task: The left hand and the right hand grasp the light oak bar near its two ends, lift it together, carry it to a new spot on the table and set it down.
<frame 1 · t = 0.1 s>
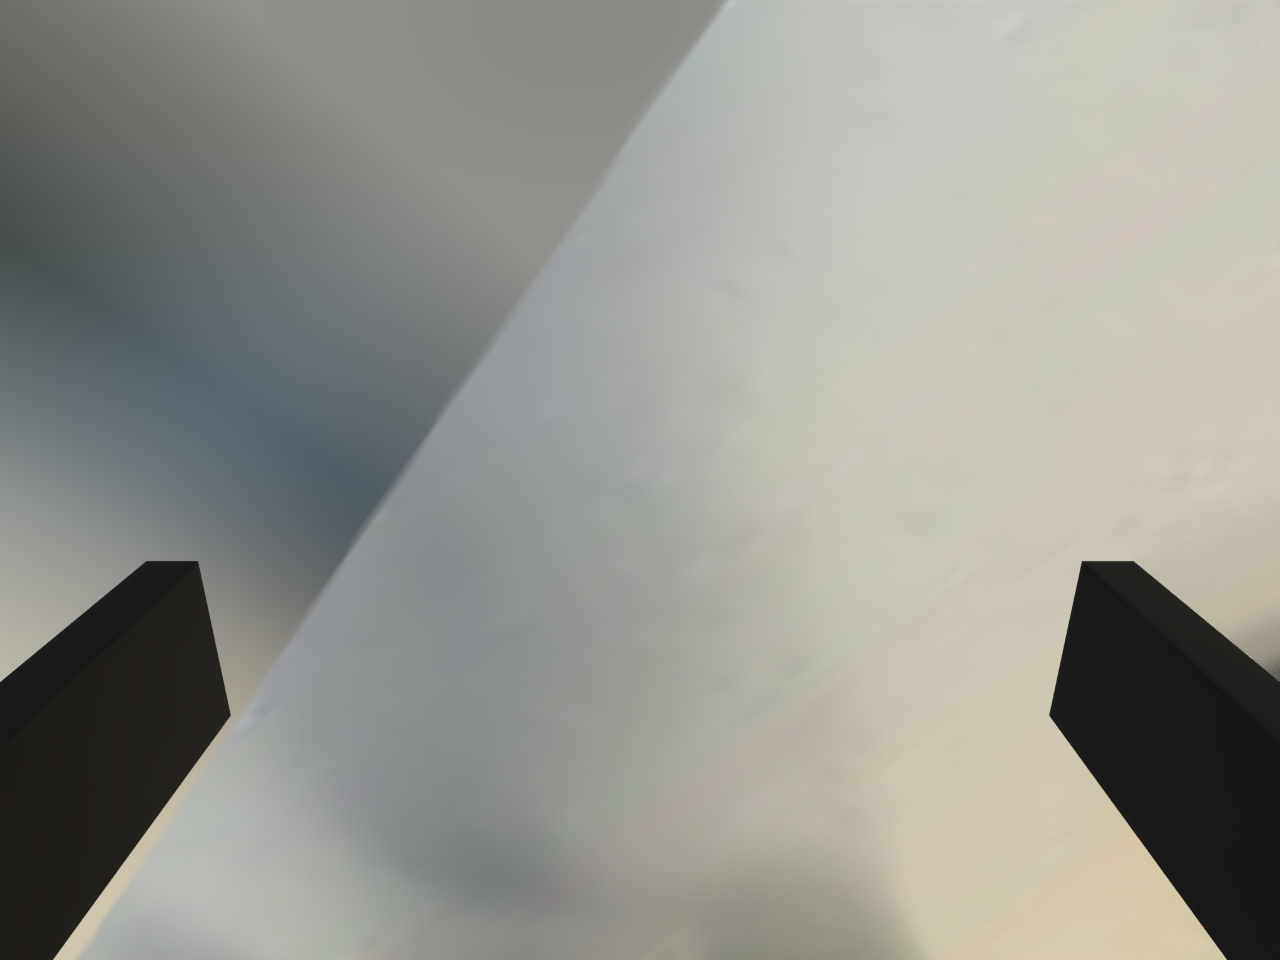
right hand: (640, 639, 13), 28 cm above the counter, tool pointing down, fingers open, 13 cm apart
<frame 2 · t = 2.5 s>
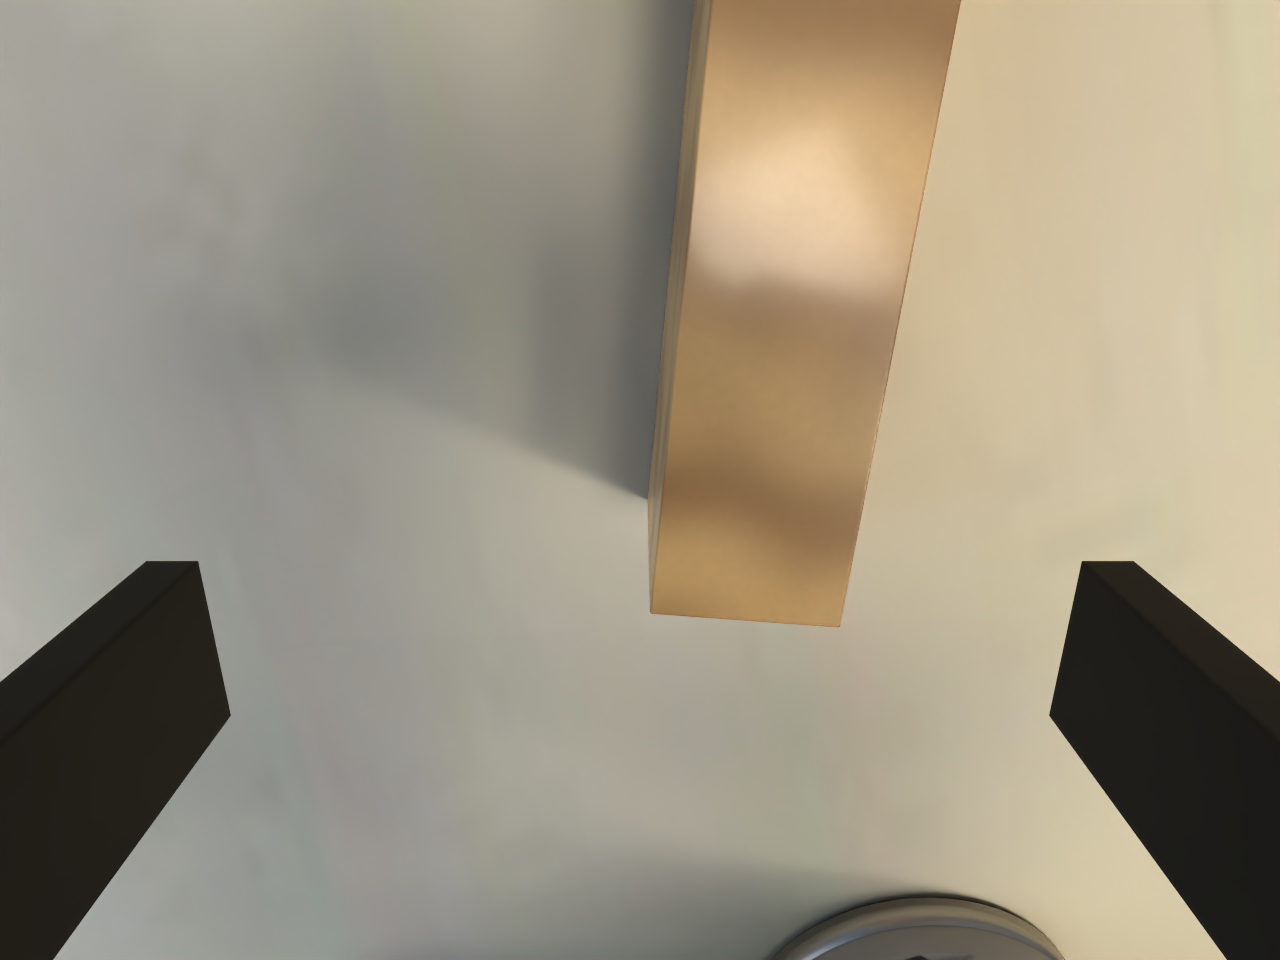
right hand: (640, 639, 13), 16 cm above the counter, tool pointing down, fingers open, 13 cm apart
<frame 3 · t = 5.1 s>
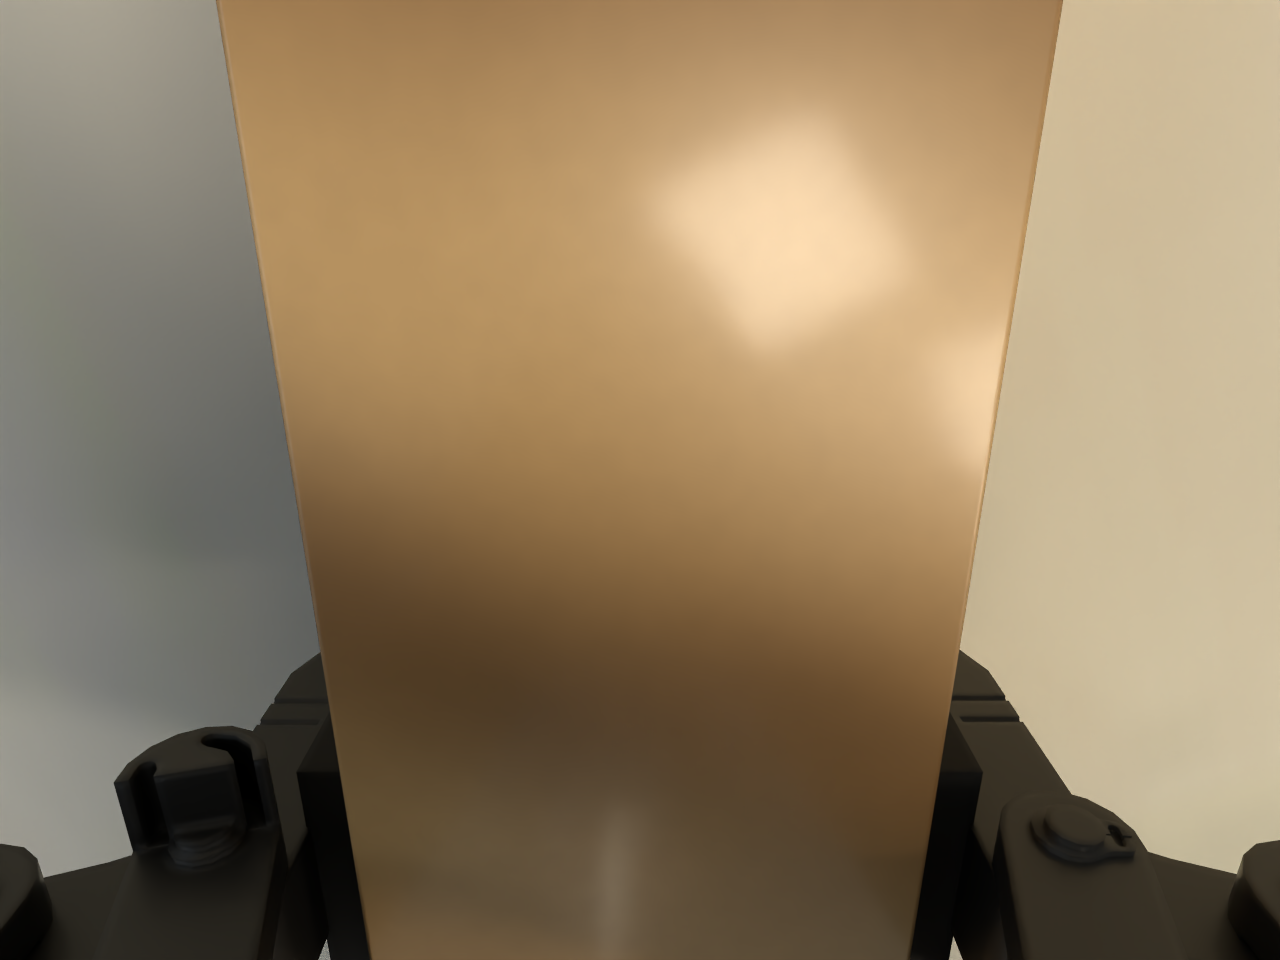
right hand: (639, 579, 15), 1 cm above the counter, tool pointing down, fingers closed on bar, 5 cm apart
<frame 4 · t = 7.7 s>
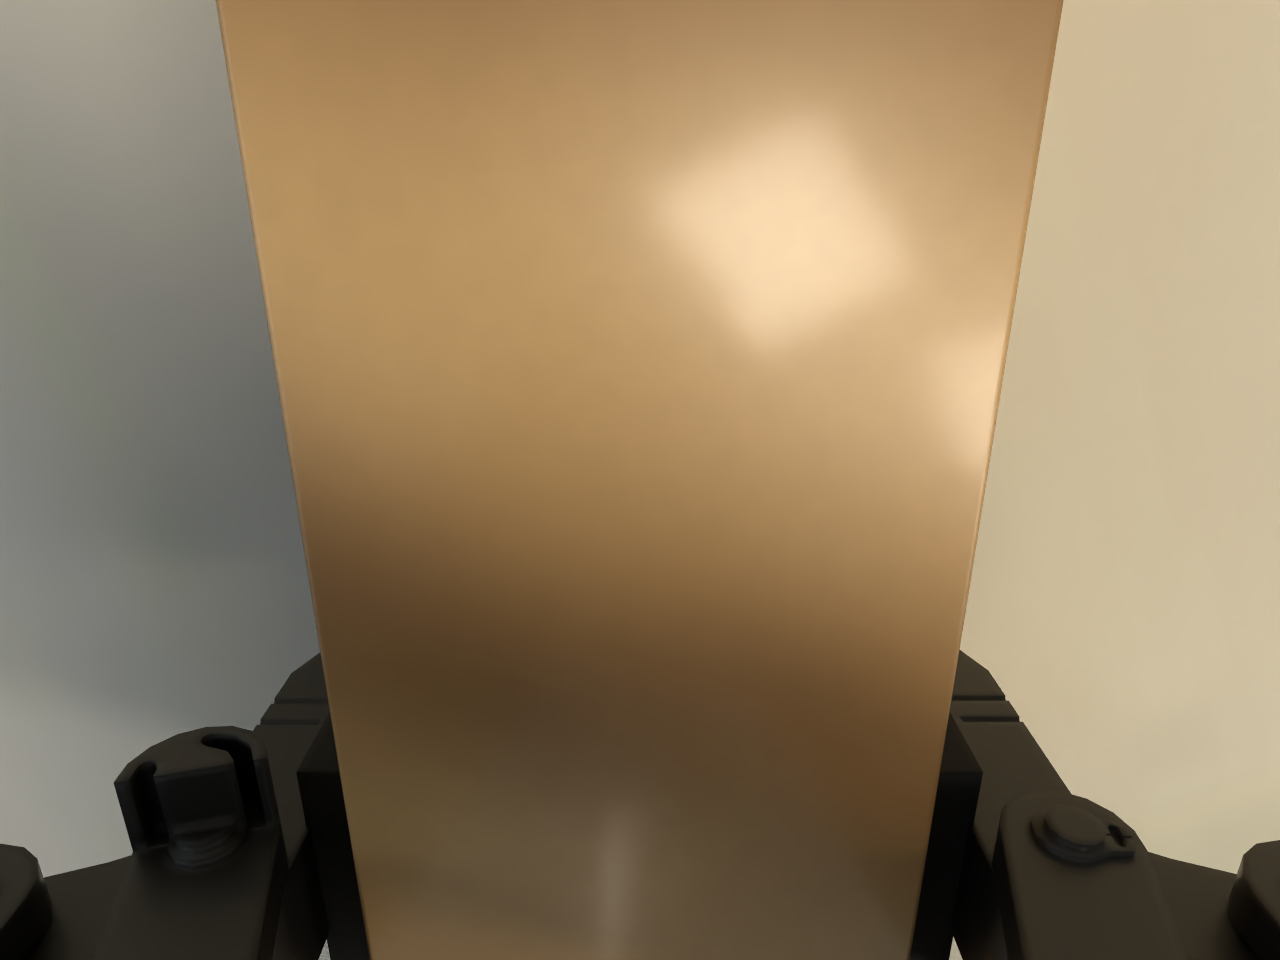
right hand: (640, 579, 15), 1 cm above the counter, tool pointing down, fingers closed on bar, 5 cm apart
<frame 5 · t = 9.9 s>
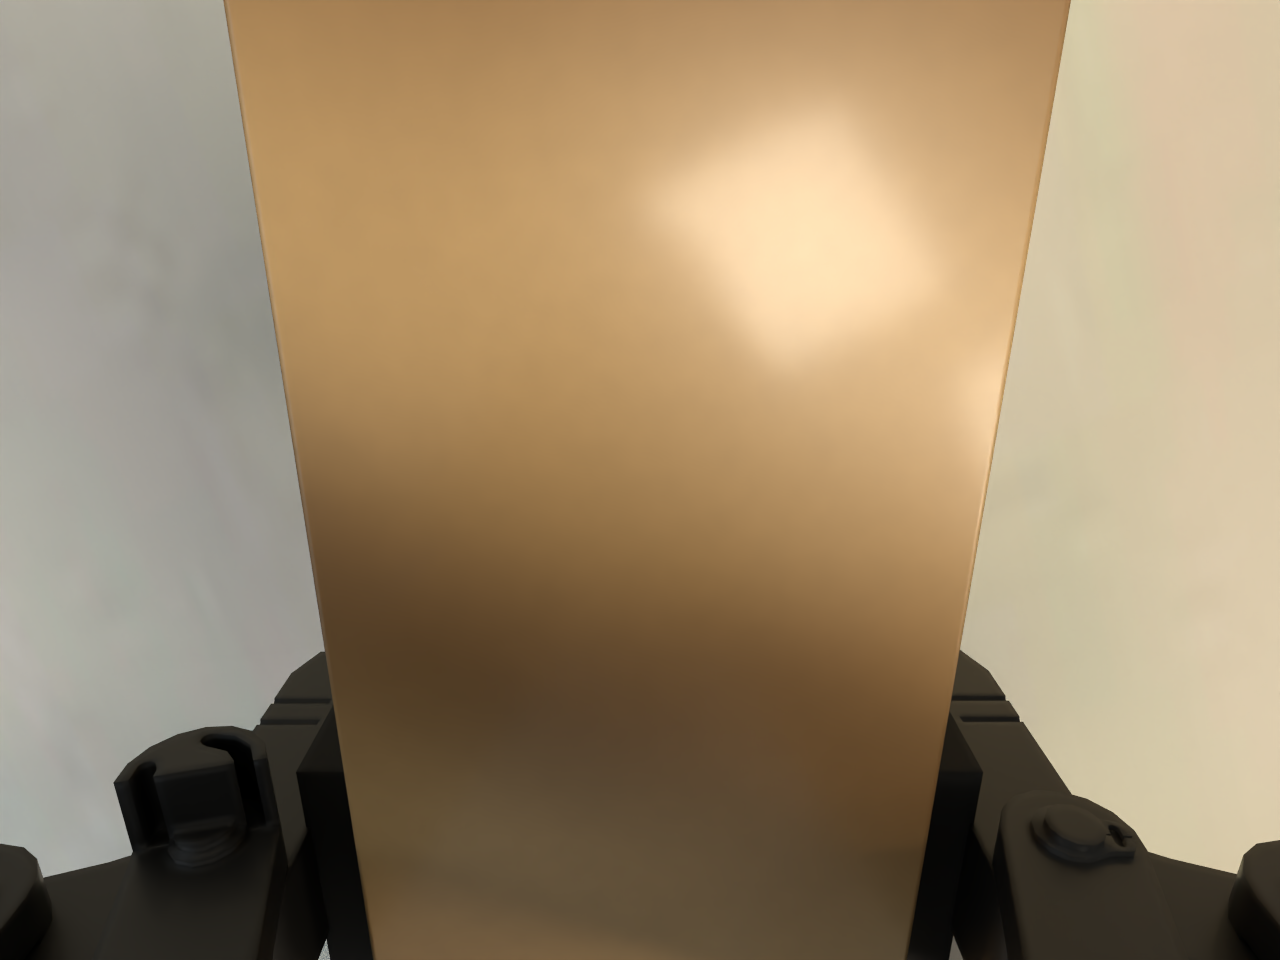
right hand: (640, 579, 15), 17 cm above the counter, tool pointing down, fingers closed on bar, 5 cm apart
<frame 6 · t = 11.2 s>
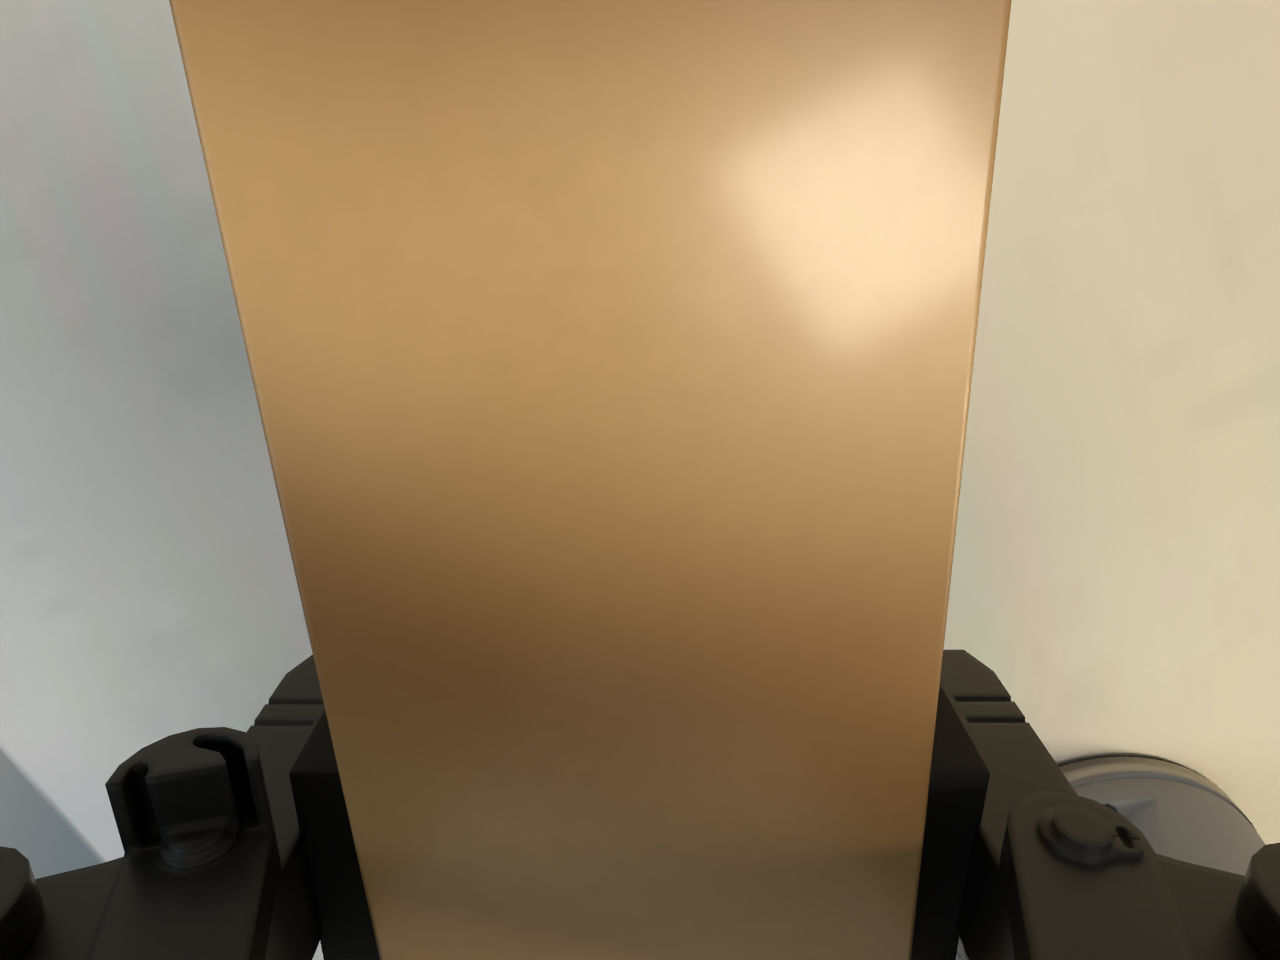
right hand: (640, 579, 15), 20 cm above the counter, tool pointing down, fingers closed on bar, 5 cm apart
when the right hand's fingers open (2 cm above the counter, at t = 14.7 s): bar drops 2 cm, on the counter.
when the left hand's fingers open (4 cm above the counter, at t = 14.9 s): bar stays where it is, on the counter.
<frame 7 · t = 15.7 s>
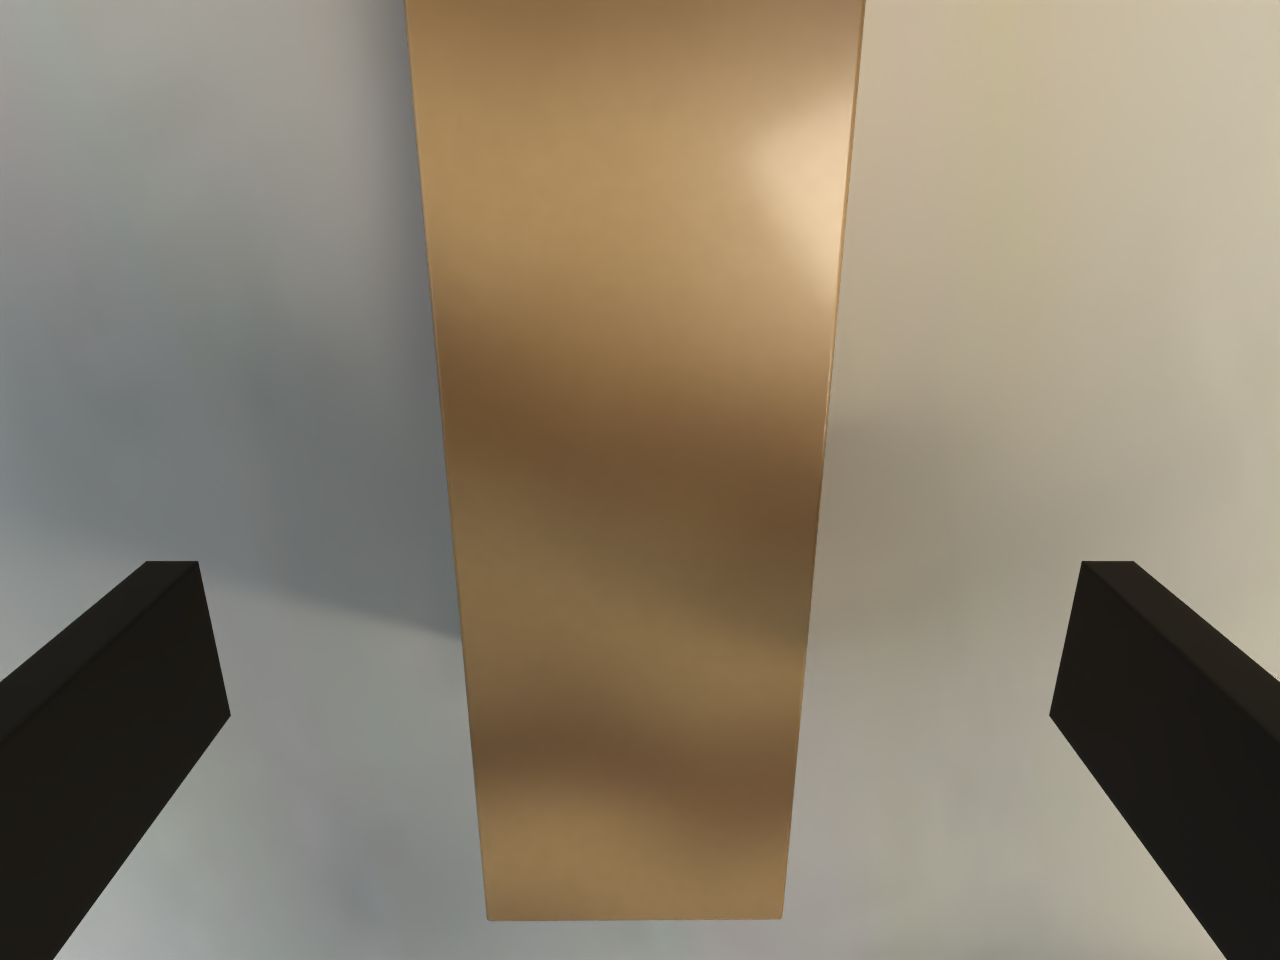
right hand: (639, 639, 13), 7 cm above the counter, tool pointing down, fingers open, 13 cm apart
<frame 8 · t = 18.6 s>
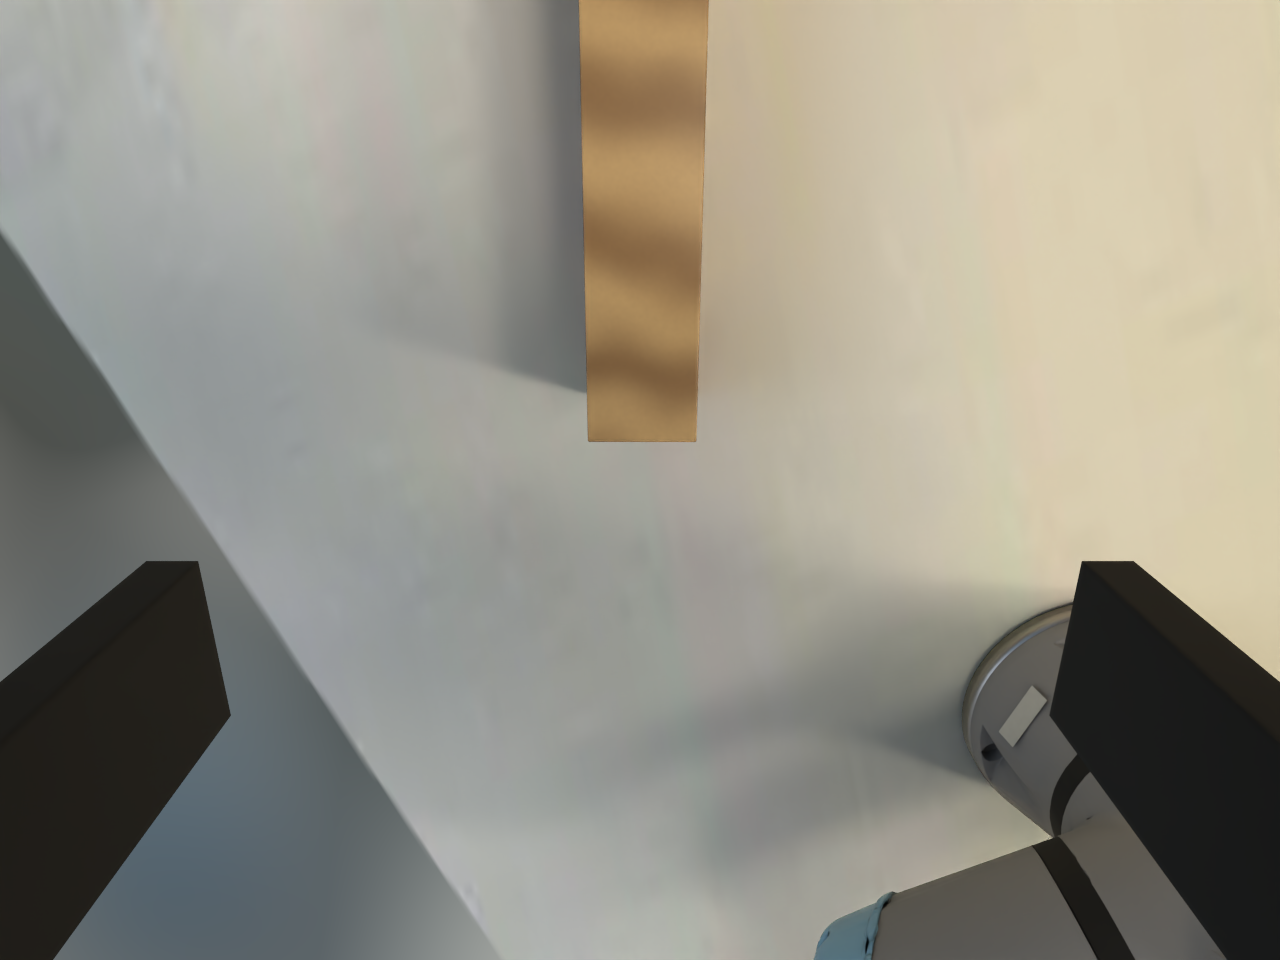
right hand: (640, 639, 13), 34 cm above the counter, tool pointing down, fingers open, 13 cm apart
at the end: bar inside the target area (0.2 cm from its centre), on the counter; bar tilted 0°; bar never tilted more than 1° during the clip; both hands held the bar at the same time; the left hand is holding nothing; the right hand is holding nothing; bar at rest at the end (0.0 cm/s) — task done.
